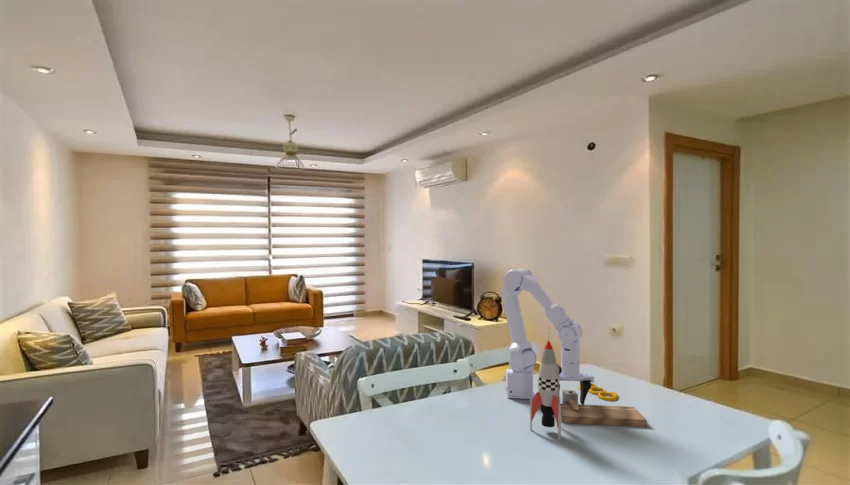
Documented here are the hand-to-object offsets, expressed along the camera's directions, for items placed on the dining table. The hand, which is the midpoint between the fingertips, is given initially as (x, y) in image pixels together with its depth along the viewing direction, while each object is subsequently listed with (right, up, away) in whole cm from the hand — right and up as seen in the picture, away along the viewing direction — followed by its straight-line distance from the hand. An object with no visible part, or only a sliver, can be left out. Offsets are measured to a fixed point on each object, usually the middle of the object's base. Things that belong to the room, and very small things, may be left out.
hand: (569, 403), depth 142 cm
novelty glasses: (+15, -2, +14) cm, 20 cm away
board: (+6, -2, -8) cm, 10 cm away
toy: (-13, -2, -18) cm, 22 cm away
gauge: (0, -2, -3) cm, 3 cm away
